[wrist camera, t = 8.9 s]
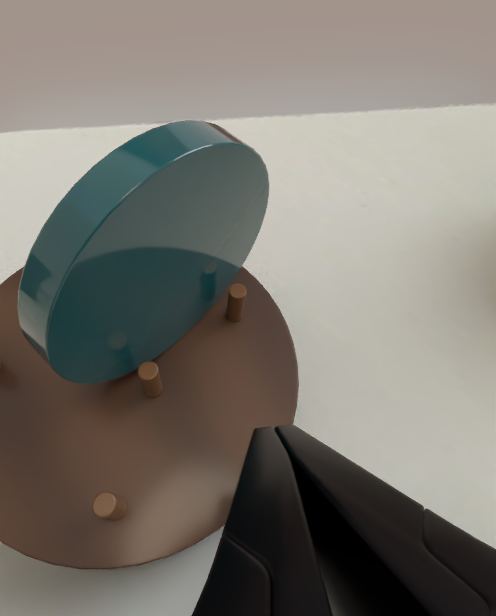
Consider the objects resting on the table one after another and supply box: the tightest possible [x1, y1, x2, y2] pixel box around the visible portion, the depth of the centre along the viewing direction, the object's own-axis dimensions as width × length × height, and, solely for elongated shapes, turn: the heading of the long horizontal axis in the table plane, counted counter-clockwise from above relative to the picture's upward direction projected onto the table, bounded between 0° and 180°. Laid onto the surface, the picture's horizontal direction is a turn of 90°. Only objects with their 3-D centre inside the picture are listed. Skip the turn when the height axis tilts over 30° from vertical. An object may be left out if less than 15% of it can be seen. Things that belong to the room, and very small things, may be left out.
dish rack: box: [0, 121, 299, 569], centre depth 13 cm, size 14×14×10 cm
